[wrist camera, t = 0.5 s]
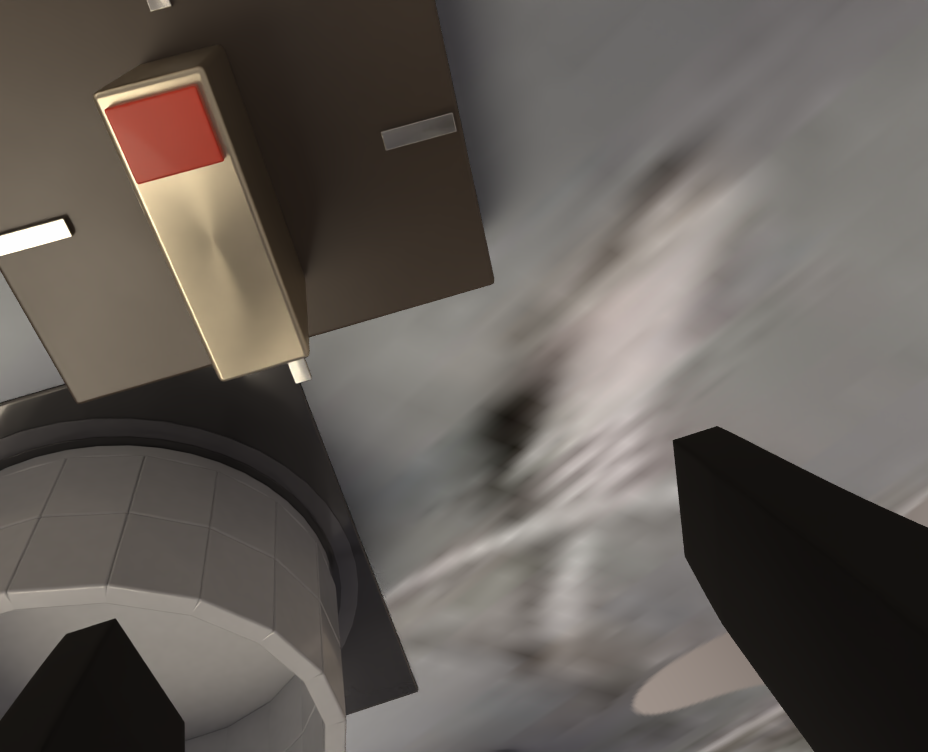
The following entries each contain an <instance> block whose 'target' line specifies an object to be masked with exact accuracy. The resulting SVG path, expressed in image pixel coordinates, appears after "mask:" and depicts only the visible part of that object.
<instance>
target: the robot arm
mask: <svg viewBox="0 0 928 752" xmlns="http://www.w3.org/2000/svg"><path fill="white" fill-rule="evenodd" d="M673 447H674V457H675V466H676V476H677V486H678V495H679V505H680V515H681V524H682V534H683V543H684V553H685V558H686V560H687V561H688V563H689V565H690V567H691V569H692V571H693V572H694V574H695V576H696V578H697V580H698V582H699V584H700V585H701V587H702V589H703V591H704V593H705V595H706V596H707V598H708V600H709V602H710V603H711V605H712V607H713V609H714V610H715V612H716V614H717V616H718V617H719V619H720V621H721V623H722V624H723V626H724V627H725V629H726V630H727V631H728V633H729V634H730V636H731V637H732V639H733V640H734V641H735V643H736V644H737V646H738V647H739V648H740V650H741V651H742V653H743V654H744V655H745V657H746V658H747V659H748V661H749V662H750V664H751V665H752V666H753V668H754V669H755V671H756V672H757V673H758V675H759V676H760V678H761V679H762V680H763V682H764V683H765V685H766V686H767V687H768V689H769V690H770V691H771V693H772V694H773V696H774V697H775V698H776V700H777V701H778V702H779V704H780V705H781V707H782V708H783V709H784V711H785V712H786V713H787V715H788V716H789V718H790V719H791V720H792V722H793V723H794V724H795V726H796V727H797V729H798V730H799V731H800V733H801V734H802V735H803V737H804V738H805V740H806V741H807V742H808V744H809V745H810V746H811V748H812V749H813V751H814V752H928V527H925V526H923V525H921V524H918V523H916V522H914V521H912V520H909V519H907V518H905V517H903V516H900V515H898V514H896V513H894V512H892V511H889V510H887V509H885V508H883V507H881V506H878V505H876V504H874V503H872V502H870V501H868V500H865V499H863V498H861V497H859V496H857V495H855V494H853V493H851V492H849V491H847V490H845V489H842V488H840V487H838V486H836V485H834V484H832V483H830V482H828V481H826V480H824V479H822V478H820V477H818V476H816V475H814V474H812V473H810V472H808V471H806V470H804V469H802V468H800V467H798V466H796V465H794V464H792V463H790V462H788V461H786V460H784V459H782V458H780V457H778V456H776V455H774V454H772V453H770V452H768V451H766V450H764V449H763V448H761V447H759V446H757V445H755V444H753V443H751V442H749V441H747V440H745V439H743V438H741V437H739V436H737V435H735V434H733V433H731V432H729V431H727V430H725V429H723V428H720V427H718V426H716V427H713V428H710V429H707V430H704V431H700V432H697V433H694V434H691V435H688V436H685V437H682V438H679V439H675V440H673ZM0 752H185V722H184V720H183V719H182V717H181V716H180V714H179V713H178V711H177V710H176V708H175V707H174V705H173V704H172V702H171V701H170V699H169V698H168V696H167V695H166V693H165V692H164V690H163V689H162V687H161V686H160V684H159V683H158V681H157V680H156V678H155V677H154V675H153V674H152V672H151V671H150V669H149V668H148V666H147V665H146V663H145V662H144V660H143V659H142V657H141V656H140V654H139V653H138V651H137V650H136V648H135V647H134V645H133V644H132V642H131V641H130V639H129V638H128V636H127V634H126V633H125V631H124V630H123V628H122V627H121V625H120V624H119V622H118V621H117V619H116V618H114V619H111V620H108V621H105V622H102V623H99V624H96V625H92V626H89V627H86V628H83V629H80V630H77V631H74V632H71V633H67V634H66V635H65V636H64V637H63V638H62V639H61V641H60V642H59V643H58V644H57V646H56V647H55V648H54V649H53V650H52V652H51V653H50V654H49V656H48V657H47V658H46V659H45V661H44V662H43V663H42V665H41V666H40V667H39V669H38V670H37V671H36V673H35V674H34V675H33V677H32V678H31V679H30V681H29V682H28V683H27V685H26V686H25V687H24V689H23V690H22V692H21V693H20V694H19V696H18V697H17V698H16V700H15V701H14V702H13V704H12V705H11V706H10V708H9V709H8V711H7V712H6V713H5V715H4V716H3V717H2V719H1V720H0Z"/></svg>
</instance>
